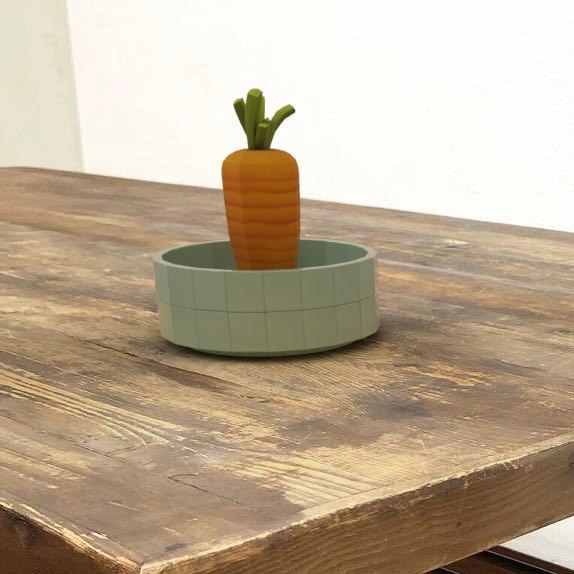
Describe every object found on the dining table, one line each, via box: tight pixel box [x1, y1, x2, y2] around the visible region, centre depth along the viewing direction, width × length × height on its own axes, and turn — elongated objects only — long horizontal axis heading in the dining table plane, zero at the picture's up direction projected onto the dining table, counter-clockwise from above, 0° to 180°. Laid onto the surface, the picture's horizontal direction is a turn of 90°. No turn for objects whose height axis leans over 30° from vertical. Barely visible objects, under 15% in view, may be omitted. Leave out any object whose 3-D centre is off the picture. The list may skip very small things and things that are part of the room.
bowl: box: [151, 237, 381, 358], centre depth 81 cm, size 14×14×6 cm
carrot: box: [220, 87, 301, 270], centre depth 79 cm, size 5×5×15 cm
